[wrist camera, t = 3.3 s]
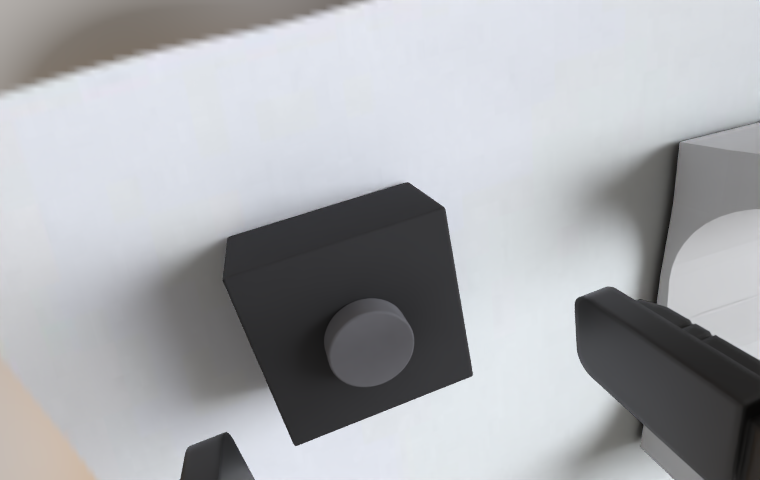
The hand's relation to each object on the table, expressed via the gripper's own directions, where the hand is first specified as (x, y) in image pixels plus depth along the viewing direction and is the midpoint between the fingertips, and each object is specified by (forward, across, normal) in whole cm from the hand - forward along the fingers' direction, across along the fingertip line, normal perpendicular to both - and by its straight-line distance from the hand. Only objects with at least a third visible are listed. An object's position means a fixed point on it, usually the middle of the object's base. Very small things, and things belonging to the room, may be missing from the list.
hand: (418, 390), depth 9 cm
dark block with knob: (+6, +1, 0) cm, 6 cm away
